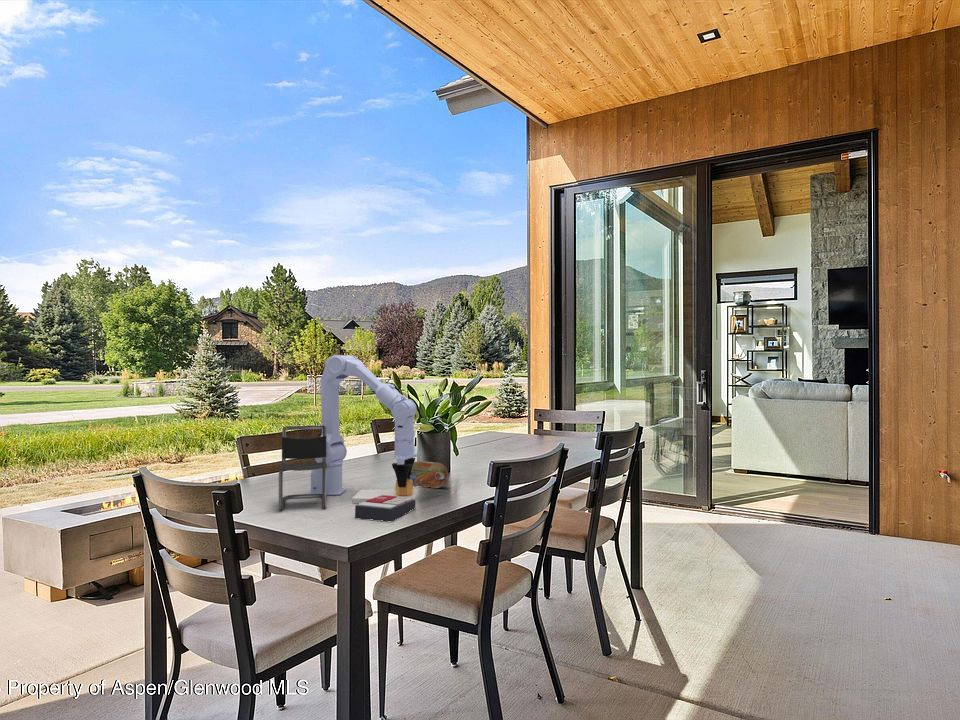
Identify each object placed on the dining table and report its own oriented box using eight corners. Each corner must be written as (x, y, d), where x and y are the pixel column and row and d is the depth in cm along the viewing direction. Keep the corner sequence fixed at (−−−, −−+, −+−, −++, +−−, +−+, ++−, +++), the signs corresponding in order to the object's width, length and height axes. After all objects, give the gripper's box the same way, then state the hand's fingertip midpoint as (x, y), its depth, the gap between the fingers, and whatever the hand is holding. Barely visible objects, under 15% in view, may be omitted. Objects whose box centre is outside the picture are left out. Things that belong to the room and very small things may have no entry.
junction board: (351, 503, 177) (351, 486, 177) (360, 494, 189) (360, 478, 189) (412, 504, 177) (412, 487, 177) (417, 494, 189) (417, 478, 189)
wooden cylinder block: (394, 495, 180) (394, 482, 180) (397, 491, 185) (397, 478, 185) (411, 495, 180) (411, 482, 180) (413, 491, 185) (413, 478, 185)
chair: (326, 496, 187) (326, 425, 186) (326, 509, 170) (326, 432, 170) (282, 498, 183) (282, 426, 183) (278, 512, 167) (278, 433, 166)
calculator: (416, 497, 172) (391, 506, 158) (415, 512, 171) (390, 522, 157) (381, 493, 175) (354, 502, 161) (381, 508, 175) (354, 518, 161)
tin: (406, 485, 203) (406, 460, 203) (411, 483, 206) (412, 459, 206) (444, 490, 196) (445, 464, 196) (449, 488, 199) (449, 462, 199)
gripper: (414, 443, 175) (414, 489, 176) (420, 436, 190) (419, 479, 190) (390, 443, 176) (389, 489, 176) (397, 436, 190) (397, 479, 190)
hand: (403, 484), depth 183 cm, fingers open, 7 cm apart
